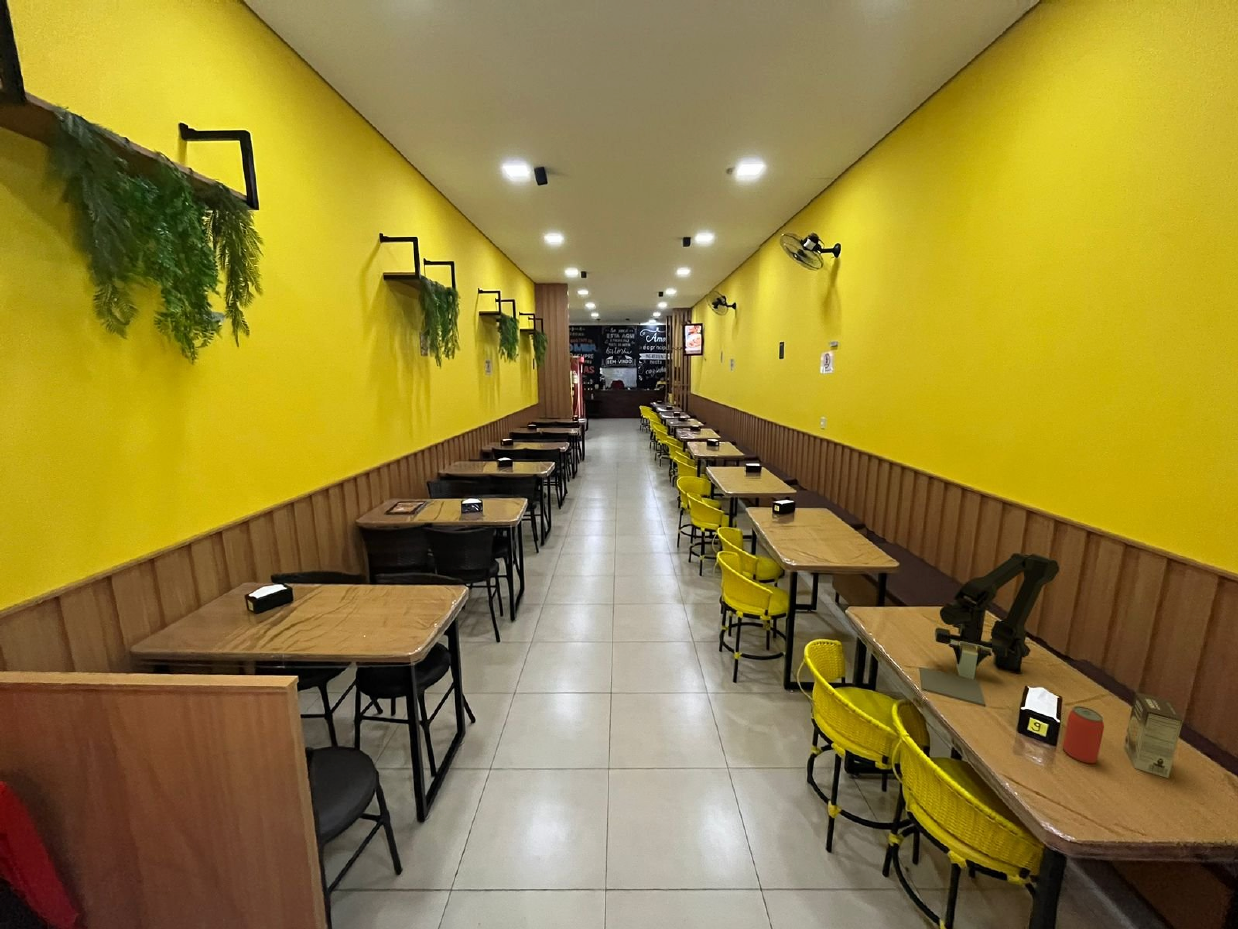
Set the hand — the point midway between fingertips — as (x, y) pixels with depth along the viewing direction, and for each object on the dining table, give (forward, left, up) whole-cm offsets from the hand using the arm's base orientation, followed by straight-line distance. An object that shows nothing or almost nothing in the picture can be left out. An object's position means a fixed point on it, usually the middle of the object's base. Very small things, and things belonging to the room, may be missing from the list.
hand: (966, 665), depth 161 cm
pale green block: (0, 0, -2) cm, 2 cm away
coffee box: (-35, +24, -3) cm, 43 cm away
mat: (+5, +11, -2) cm, 12 cm away
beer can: (-21, +29, -3) cm, 36 cm away
